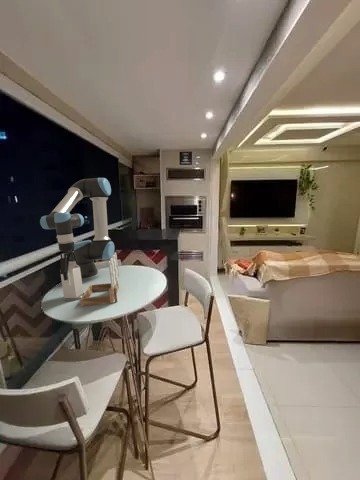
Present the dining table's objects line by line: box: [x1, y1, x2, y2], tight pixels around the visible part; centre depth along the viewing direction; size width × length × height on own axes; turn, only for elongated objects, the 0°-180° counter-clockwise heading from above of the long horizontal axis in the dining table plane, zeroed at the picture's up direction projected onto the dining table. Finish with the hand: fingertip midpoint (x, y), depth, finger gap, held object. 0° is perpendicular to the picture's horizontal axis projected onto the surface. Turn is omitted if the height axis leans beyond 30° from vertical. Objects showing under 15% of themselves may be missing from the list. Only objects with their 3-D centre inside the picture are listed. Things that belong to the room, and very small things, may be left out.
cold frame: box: [79, 252, 120, 307], centre depth 135 cm, size 20×17×21 cm
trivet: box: [62, 292, 85, 302], centre depth 138 cm, size 11×11×1 cm
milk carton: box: [60, 262, 84, 298], centre depth 137 cm, size 7×7×19 cm
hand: (71, 281), depth 137 cm, fingers open, 13 cm apart
